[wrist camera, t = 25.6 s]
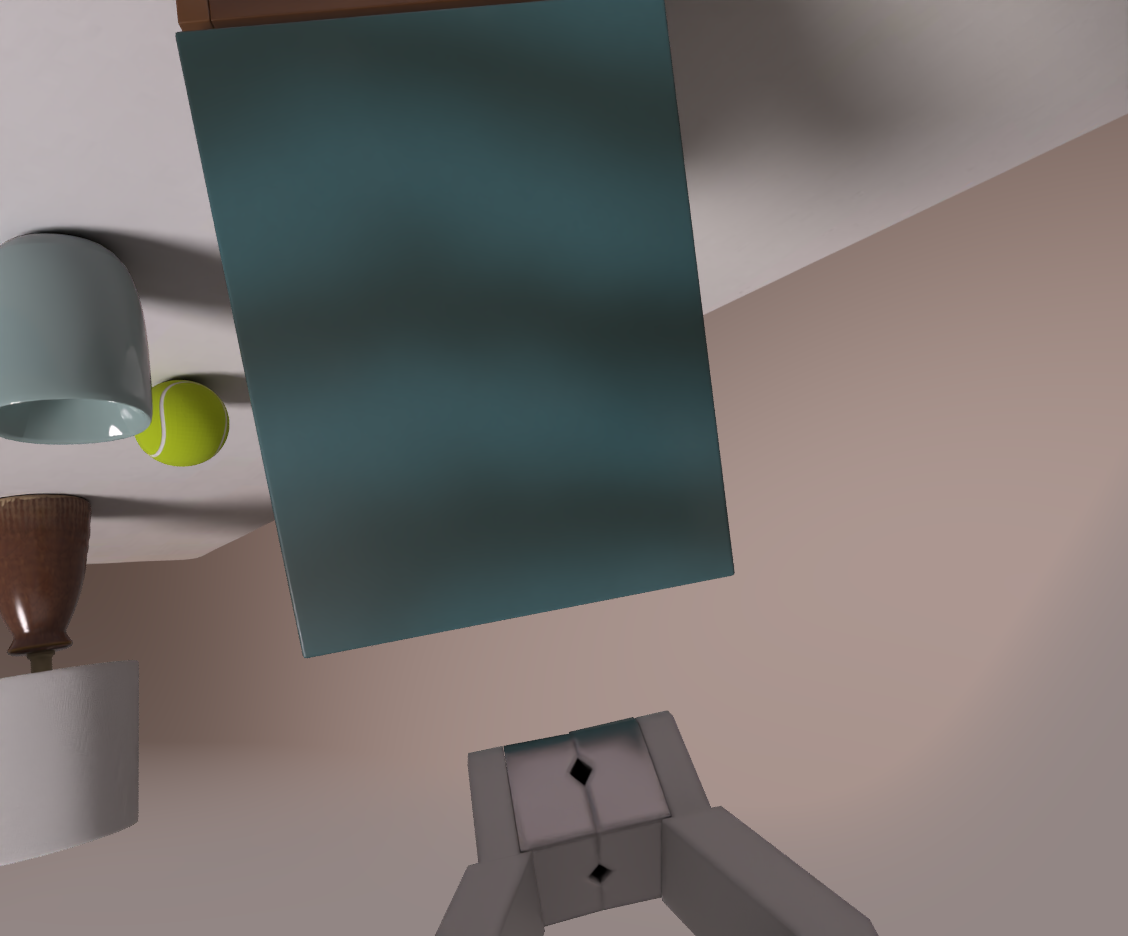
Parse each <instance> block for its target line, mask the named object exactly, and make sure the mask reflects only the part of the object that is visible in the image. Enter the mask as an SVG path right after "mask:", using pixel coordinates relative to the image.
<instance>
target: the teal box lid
mask: <svg viewBox="0 0 1128 936" xmlns="http://www.w3.org/2000/svg"><path fill="white" fill-rule="evenodd" d="M175 37H176V42H177V47H178V51H179V56H180V61H181V66H182V71H183V76H184V81H185V85H186V90H187V95H188V100H189V105H190V110H191V115H192V119H193V124H194V129H195V134H196V139H197V144H198V149H199V153H200V158H201V163H202V168H203V173H204V178H205V183H206V187H207V192H208V197H209V202H210V207H211V212H212V217H213V221H214V226H215V231H216V236H217V241H218V246H219V251H220V255H221V260H222V265H223V270H224V275H225V280H226V285H227V289H228V294H229V299H230V304H231V309H232V314H233V319H234V323H235V328H236V333H237V338H238V343H239V348H240V353H241V357H242V362H243V367H244V372H245V377H246V382H247V387H248V391H249V396H250V401H251V406H252V411H253V416H254V421H255V425H256V430H257V435H258V440H259V445H260V450H261V455H262V459H263V464H264V469H265V474H266V479H267V484H268V489H269V493H270V498H271V503H272V508H273V513H274V518H275V523H276V527H277V532H278V537H279V542H280V547H281V552H282V557H283V561H284V566H285V571H286V576H287V581H288V586H289V590H290V595H291V600H292V605H293V610H294V615H295V619H296V625H297V629H298V634H299V639H300V643H301V648H302V654H303V656H304V658H310V657H315V656H321V655H325V654H331V653H336V652H341V651H346V650H351V649H356V648H361V647H367V646H371V645H377V644H382V643H387V642H393V641H398V640H403V639H408V638H413V637H418V636H423V635H429V634H433V633H439V632H443V631H449V630H454V629H460V628H465V627H470V626H475V625H480V624H485V623H490V622H495V621H501V620H506V619H511V618H515V617H521V616H526V615H531V614H537V613H541V612H547V611H552V610H557V609H562V608H567V607H573V606H578V605H583V604H588V603H593V602H598V601H604V600H609V599H613V598H618V597H624V596H629V595H634V594H640V593H645V592H650V591H655V590H660V589H665V588H670V587H676V586H681V585H685V584H691V583H696V582H701V581H706V580H711V579H717V578H722V577H727V576H732V575H734V564H733V556H732V548H731V540H730V531H729V524H728V515H727V507H726V499H725V491H724V483H723V474H722V466H721V458H720V450H719V442H718V434H717V425H716V417H715V409H714V401H713V393H712V385H711V377H710V369H709V360H708V352H707V344H706V336H705V327H704V319H703V311H702V303H701V295H700V287H699V278H698V270H697V262H696V254H695V246H694V238H693V229H692V221H691V213H690V205H689V197H688V189H687V180H686V172H685V164H684V156H683V148H682V140H681V131H680V123H679V115H678V107H677V99H676V91H675V82H674V74H673V66H672V58H671V50H670V42H669V34H668V25H667V17H666V9H665V1H664V0H545V1H533V2H521V3H510V4H498V5H486V6H475V7H463V8H451V9H440V10H428V11H416V12H405V13H393V14H381V15H370V16H358V17H346V18H335V19H323V20H311V21H300V22H288V23H276V24H265V25H253V26H241V27H230V28H218V29H206V30H195V31H183V32H177V33H176V36H175Z"/></svg>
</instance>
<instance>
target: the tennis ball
mask: <svg viewBox="0 0 1128 936" xmlns="http://www.w3.org/2000/svg"><path fill="white" fill-rule="evenodd" d="M152 397H153V417H152V422H151V424H150V425H149V427H148V428H147V429H146V430H144V431H143V432H141V433H139V434H137V435H135V438H136V440H137V442H138V444H139V445H140V447H141V448H142V449H143V451H145V452H146V453H147V454H148V455H149V456H150V457H152V458H153V459H155V460H157V461H159V462H162V463H164V464H167V465H172V466H193V465H197V464H200V463H203V462H205V461H207V460H209V459H210V458H212V457H213V456H215V455H216V454H217V453H218V452H219V451H220V449H221V448H222V447H223V445H224V443H225V441H226V439H227V436H228V432H229V416H228V412H227V410H226V407H225V405H224V403H223V402H222V400H221V399H220V398H219V397H218V396H217V395H216V394H215V393H214V392H213V391H212V390H210V389H209V388H207V387H206V386H204V385H202V384H199V383H196V382H193V381H188V380H172V381H167V382H163V383H161V384H158V385H156V386H154V387H152Z"/></svg>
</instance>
